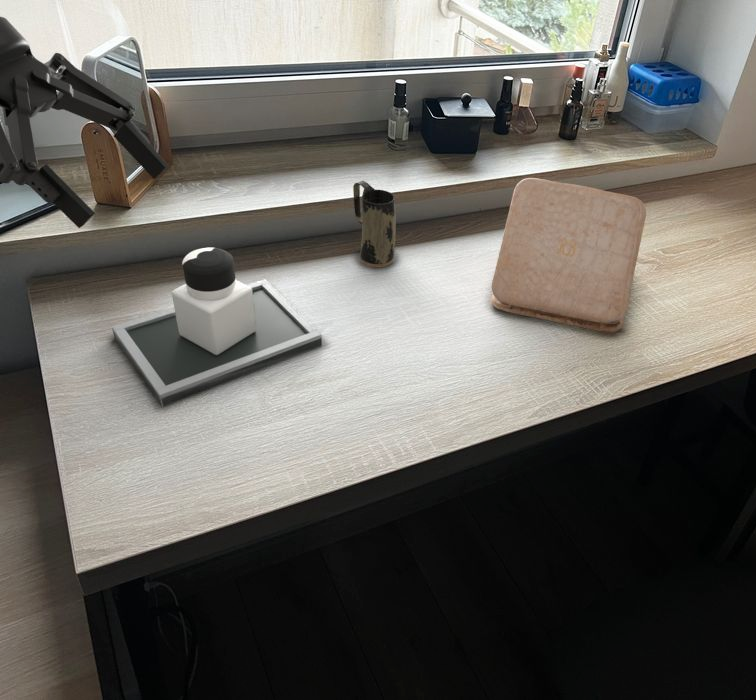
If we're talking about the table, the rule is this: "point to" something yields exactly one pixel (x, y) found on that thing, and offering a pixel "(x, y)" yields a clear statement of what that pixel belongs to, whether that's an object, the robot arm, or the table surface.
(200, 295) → the medicine bottle
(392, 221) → the mug
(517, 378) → the table surface
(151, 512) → the table surface
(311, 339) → the chalkboard
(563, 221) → the case
